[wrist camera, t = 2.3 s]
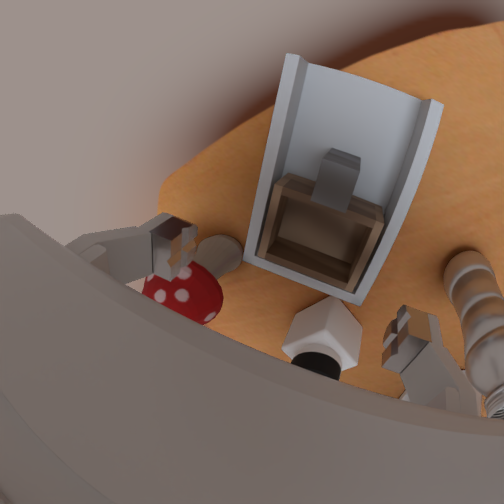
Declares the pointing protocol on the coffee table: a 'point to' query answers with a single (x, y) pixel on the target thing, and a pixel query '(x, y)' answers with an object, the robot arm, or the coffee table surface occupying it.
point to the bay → (350, 141)
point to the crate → (322, 223)
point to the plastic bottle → (479, 325)
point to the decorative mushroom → (198, 280)
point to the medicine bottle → (324, 338)
